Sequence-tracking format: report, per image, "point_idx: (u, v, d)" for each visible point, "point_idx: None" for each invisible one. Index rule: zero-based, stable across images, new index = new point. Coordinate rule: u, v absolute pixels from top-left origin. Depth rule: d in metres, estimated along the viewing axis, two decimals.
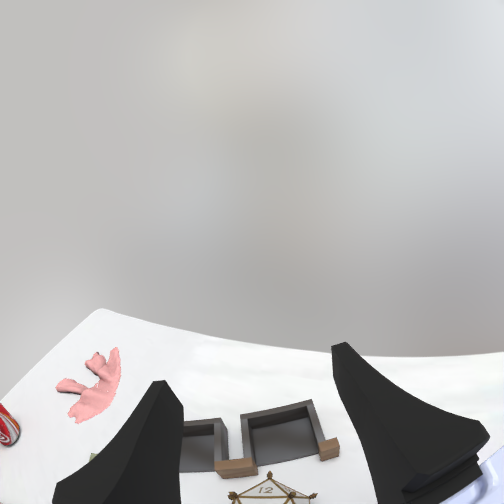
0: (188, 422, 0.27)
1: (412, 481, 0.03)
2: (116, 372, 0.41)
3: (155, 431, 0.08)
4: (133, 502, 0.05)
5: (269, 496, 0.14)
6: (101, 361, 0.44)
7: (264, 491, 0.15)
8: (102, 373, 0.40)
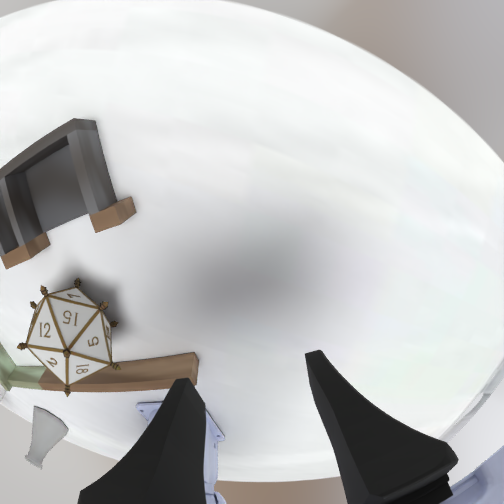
0: None
1: (368, 500, 0.03)
2: None
3: (181, 430, 0.08)
4: None
5: (49, 348, 0.13)
6: None
7: (44, 333, 0.14)
8: None
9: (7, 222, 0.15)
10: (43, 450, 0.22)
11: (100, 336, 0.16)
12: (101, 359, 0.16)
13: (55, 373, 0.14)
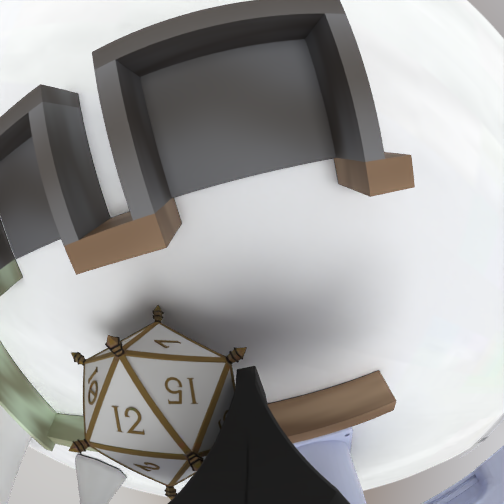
0: None
1: None
2: None
3: None
4: None
5: (146, 451, 0.07)
6: None
7: (127, 427, 0.07)
8: None
9: (80, 174, 0.09)
10: None
11: None
12: None
13: (149, 475, 0.08)
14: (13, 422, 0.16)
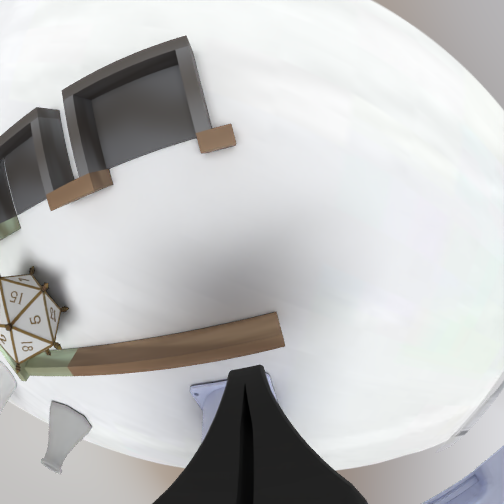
0: (3, 137, 0.12)
1: None
2: None
3: (247, 423, 0.08)
4: None
5: None
6: None
7: None
8: None
9: (58, 157, 0.15)
10: (63, 452, 0.20)
11: (42, 315, 0.16)
12: (43, 338, 0.15)
13: (7, 350, 0.13)
14: (0, 370, 0.22)
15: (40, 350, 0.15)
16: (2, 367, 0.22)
